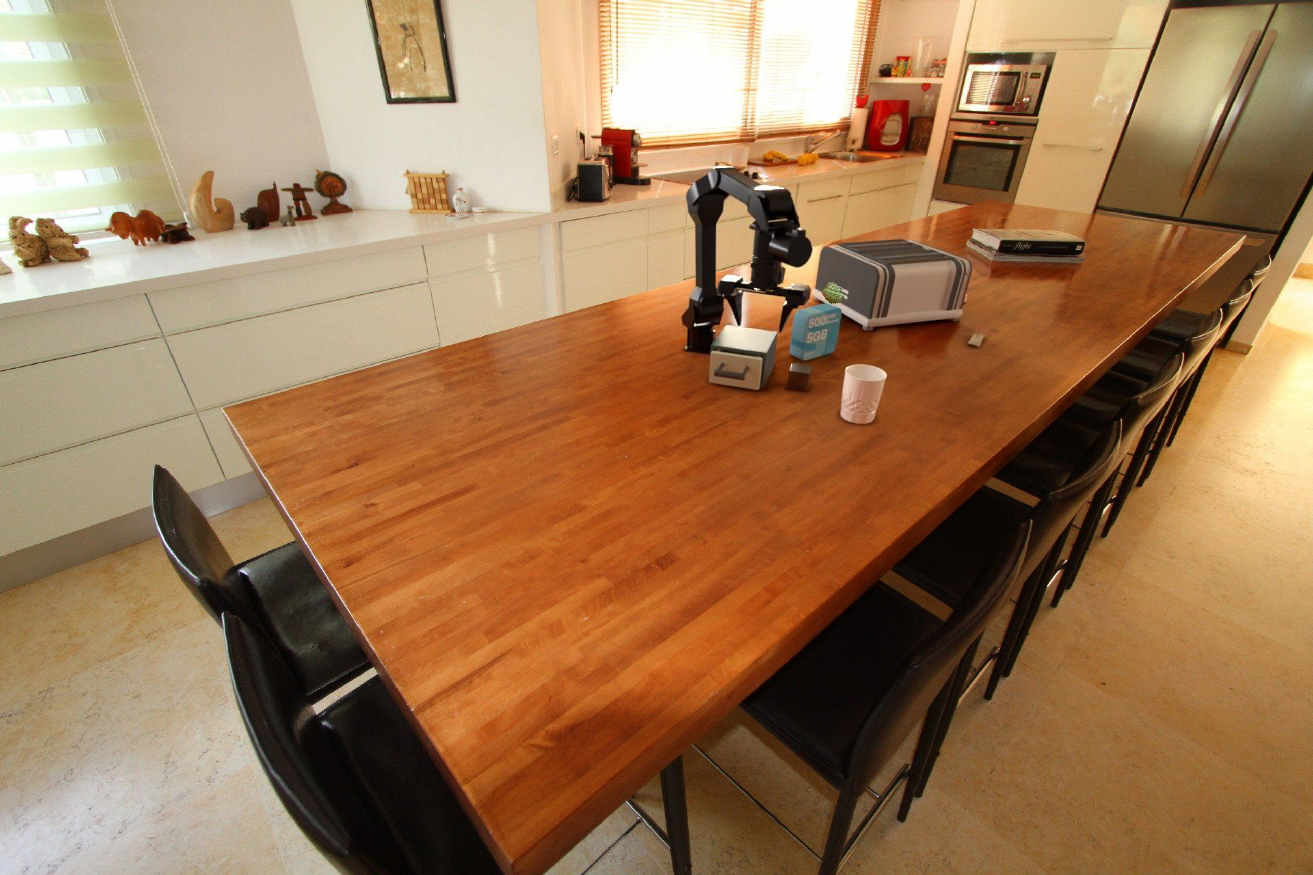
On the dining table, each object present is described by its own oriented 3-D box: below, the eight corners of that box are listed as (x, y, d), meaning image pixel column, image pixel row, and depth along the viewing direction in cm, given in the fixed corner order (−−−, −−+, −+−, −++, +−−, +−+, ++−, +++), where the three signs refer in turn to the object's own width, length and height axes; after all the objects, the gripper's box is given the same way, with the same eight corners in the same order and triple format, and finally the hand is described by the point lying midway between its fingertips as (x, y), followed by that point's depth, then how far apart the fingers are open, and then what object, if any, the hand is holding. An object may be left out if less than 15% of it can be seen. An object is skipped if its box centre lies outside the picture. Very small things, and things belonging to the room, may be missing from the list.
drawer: (752, 401, 126) (755, 370, 122) (701, 393, 129) (703, 362, 125) (769, 368, 140) (772, 339, 137) (722, 361, 144) (724, 333, 140)
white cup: (856, 429, 118) (865, 383, 112) (829, 412, 124) (836, 368, 118) (885, 420, 121) (895, 376, 116) (857, 404, 127) (866, 361, 122)
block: (786, 388, 133) (789, 370, 131) (789, 380, 137) (792, 363, 134) (806, 392, 132) (809, 373, 129) (809, 383, 135) (812, 365, 133)
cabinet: (762, 390, 132) (766, 352, 128) (708, 381, 136) (711, 345, 131) (773, 366, 143) (777, 331, 139) (723, 359, 147) (726, 325, 142)
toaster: (971, 320, 172) (989, 258, 163) (865, 332, 164) (878, 267, 154) (905, 289, 198) (917, 234, 188) (810, 298, 189) (818, 241, 180)
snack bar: (980, 346, 153) (969, 340, 154) (976, 351, 154) (965, 345, 155) (986, 334, 160) (976, 329, 161) (982, 339, 161) (972, 333, 162)
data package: (801, 362, 146) (807, 315, 140) (788, 356, 149) (794, 310, 143) (835, 352, 151) (843, 307, 145) (822, 346, 155) (829, 302, 148)
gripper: (821, 252, 123) (810, 323, 131) (735, 242, 129) (730, 311, 137) (809, 264, 114) (798, 340, 122) (718, 254, 121) (714, 326, 129)
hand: (759, 328), depth 128 cm, fingers open, 9 cm apart
